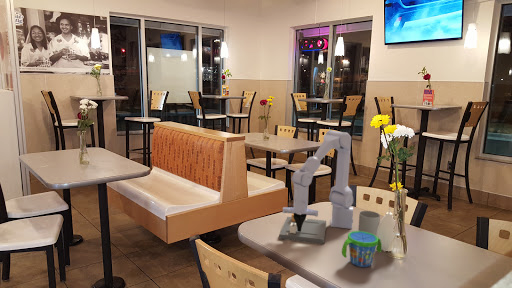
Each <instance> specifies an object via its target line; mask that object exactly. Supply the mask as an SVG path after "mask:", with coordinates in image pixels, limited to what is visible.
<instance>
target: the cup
mask: <svg viewBox="0 0 512 288" xmlns="http://www.w3.org/2000/svg"><path fill="white" fill-rule="evenodd" d="M380 221H381V214H380V213H379V212H376V211H371V210H361V211H359V217H358V229H357V231H363V232H368V233H371V234H373V235H375V236H377V229H378V226H379V223H380Z"/></svg>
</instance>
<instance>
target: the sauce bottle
mask: <svg viewBox="0 0 512 288" xmlns="http://www.w3.org/2000/svg"><path fill="white" fill-rule="evenodd" d="M393 215H394V214H393V212H391V207H390V206H389V208H388V211H387V212H386V213H385V214H384V216H383V217H382V218H381V219H380V223H379V226H378V229H377V237H378V238H379V239H380V240H381V244H382V250H381V251H383V252H385V251H386V250H388V248H389V246H390V244H391V242H392V240H393V238H394V232H393V231H394V229H393V228H394V226H395V221H396V219H395V220H394V219H393V217H394V216H393Z"/></svg>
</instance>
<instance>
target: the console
mask: <svg viewBox="0 0 512 288" xmlns="http://www.w3.org/2000/svg"><path fill="white" fill-rule="evenodd" d="M291 220H292V216H287V217H286V219H285V222H284V223H283V226H282V228H281V230H280V233H279V240H287V241H292V242H293V241H294V242H303V243H310V244H319V245H324V243H325V237H326V228H327V220H324V219H323V220H322V219H313V218H306V219H305V220H304V222H303V225H302V228H301V232H299V231H298V229H297V231H296V234H295V233H290V225H291V223H293V221H291ZM294 223H296V222H294Z"/></svg>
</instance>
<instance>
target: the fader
mask: <svg viewBox="0 0 512 288" xmlns="http://www.w3.org/2000/svg"><path fill="white" fill-rule="evenodd" d="M296 231H297V225H296V223H294V222H293V223H291V225H290V233H295V234H296Z"/></svg>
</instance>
